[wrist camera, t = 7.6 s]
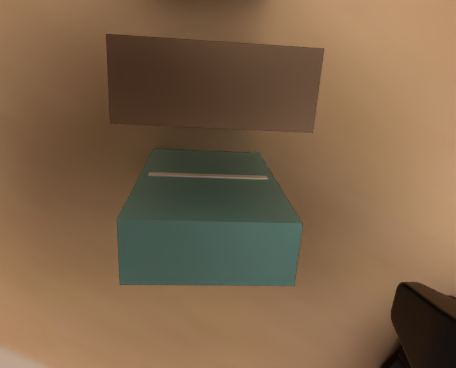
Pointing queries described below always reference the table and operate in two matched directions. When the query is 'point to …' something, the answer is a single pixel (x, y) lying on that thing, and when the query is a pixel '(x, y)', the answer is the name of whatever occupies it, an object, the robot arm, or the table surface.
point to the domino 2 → (207, 223)
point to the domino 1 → (212, 84)
